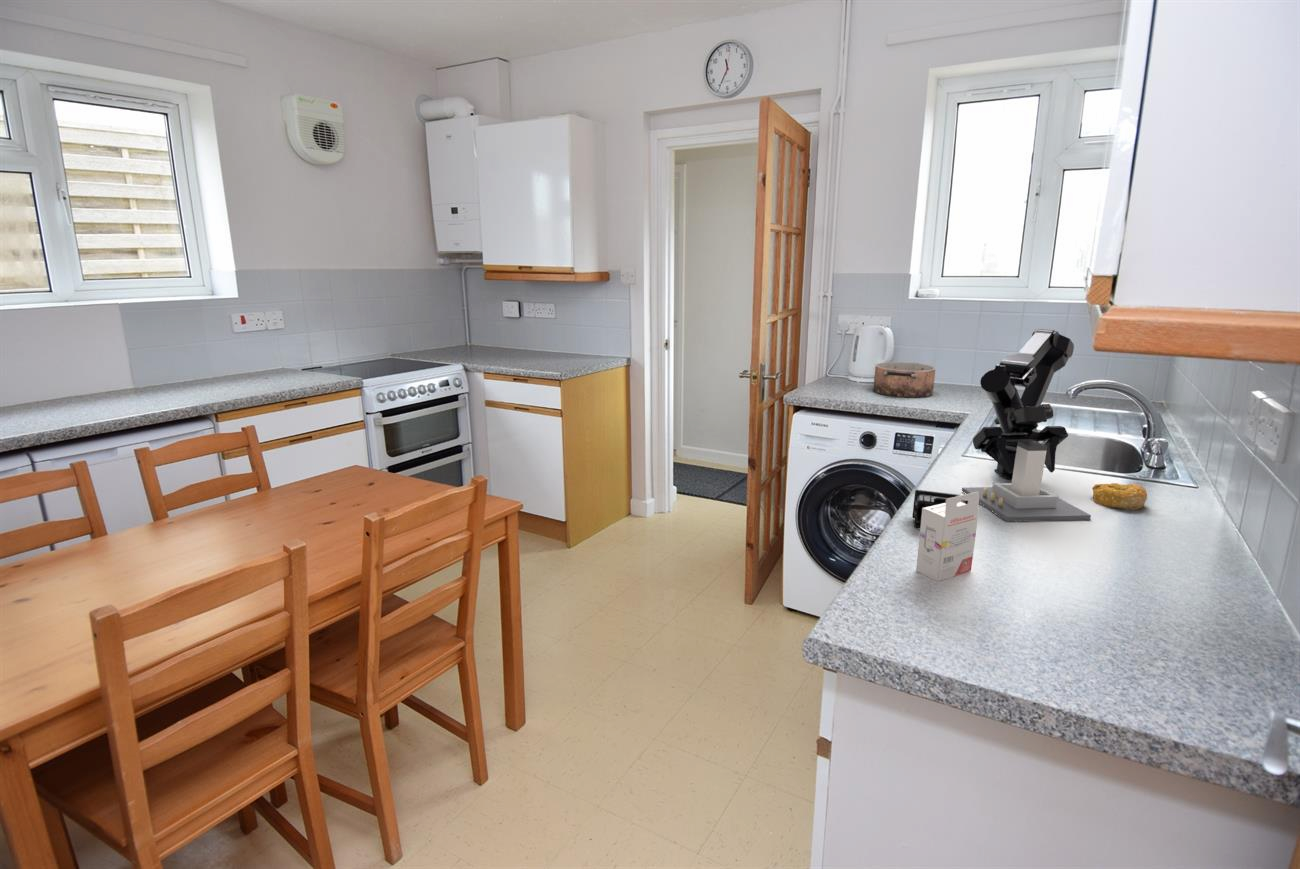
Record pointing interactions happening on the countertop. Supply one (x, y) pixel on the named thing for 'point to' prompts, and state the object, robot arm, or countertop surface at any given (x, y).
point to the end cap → (928, 502)
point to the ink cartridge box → (948, 537)
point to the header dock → (1026, 504)
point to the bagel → (1120, 495)
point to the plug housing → (1028, 468)
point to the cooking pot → (904, 379)
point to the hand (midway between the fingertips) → (1031, 471)
